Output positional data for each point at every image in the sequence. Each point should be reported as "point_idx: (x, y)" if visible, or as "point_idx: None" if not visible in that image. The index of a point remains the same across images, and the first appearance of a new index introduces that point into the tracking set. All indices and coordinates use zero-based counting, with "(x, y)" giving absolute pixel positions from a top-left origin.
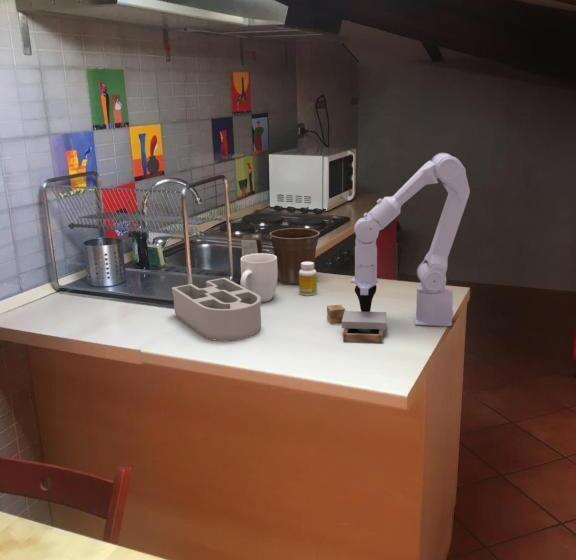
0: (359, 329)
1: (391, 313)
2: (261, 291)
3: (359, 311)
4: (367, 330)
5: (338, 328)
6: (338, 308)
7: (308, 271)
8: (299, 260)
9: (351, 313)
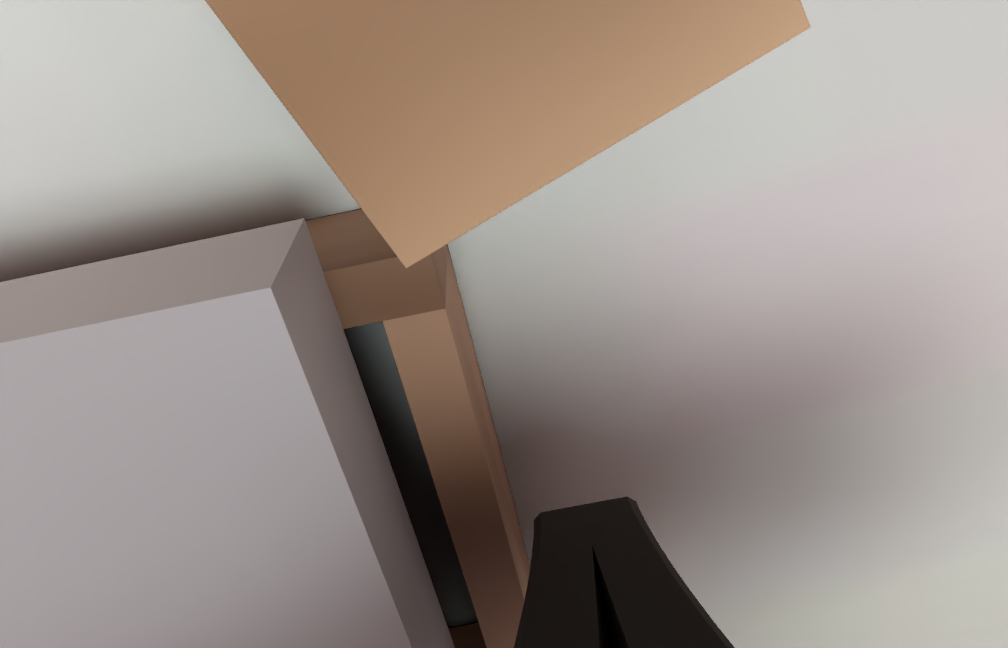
0: None
1: (966, 626)
2: None
3: (376, 583)
4: None
5: (76, 115)
6: (401, 60)
7: None
8: None
9: (169, 484)
